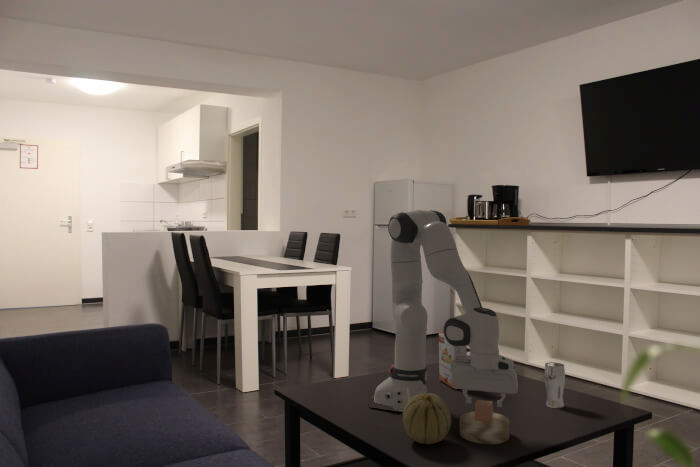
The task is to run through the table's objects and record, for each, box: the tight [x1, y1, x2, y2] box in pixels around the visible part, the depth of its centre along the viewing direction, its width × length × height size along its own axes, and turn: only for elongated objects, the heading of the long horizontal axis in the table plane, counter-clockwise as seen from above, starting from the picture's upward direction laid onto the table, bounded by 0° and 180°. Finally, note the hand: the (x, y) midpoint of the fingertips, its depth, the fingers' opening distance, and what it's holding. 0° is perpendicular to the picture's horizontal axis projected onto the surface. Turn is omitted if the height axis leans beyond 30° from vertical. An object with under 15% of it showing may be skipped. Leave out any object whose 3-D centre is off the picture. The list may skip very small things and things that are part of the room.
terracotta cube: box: [474, 399, 494, 422], centre depth 173 cm, size 5×5×5 cm
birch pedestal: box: [459, 410, 510, 445], centre depth 173 cm, size 15×15×5 cm
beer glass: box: [544, 361, 566, 409], centre depth 201 cm, size 7×7×15 cm
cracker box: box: [438, 331, 468, 389], centre depth 230 cm, size 14×6×21 cm, turn 17°
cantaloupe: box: [402, 392, 452, 445], centre depth 168 cm, size 15×15×15 cm
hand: (483, 405), depth 173 cm, fingers open, 8 cm apart
